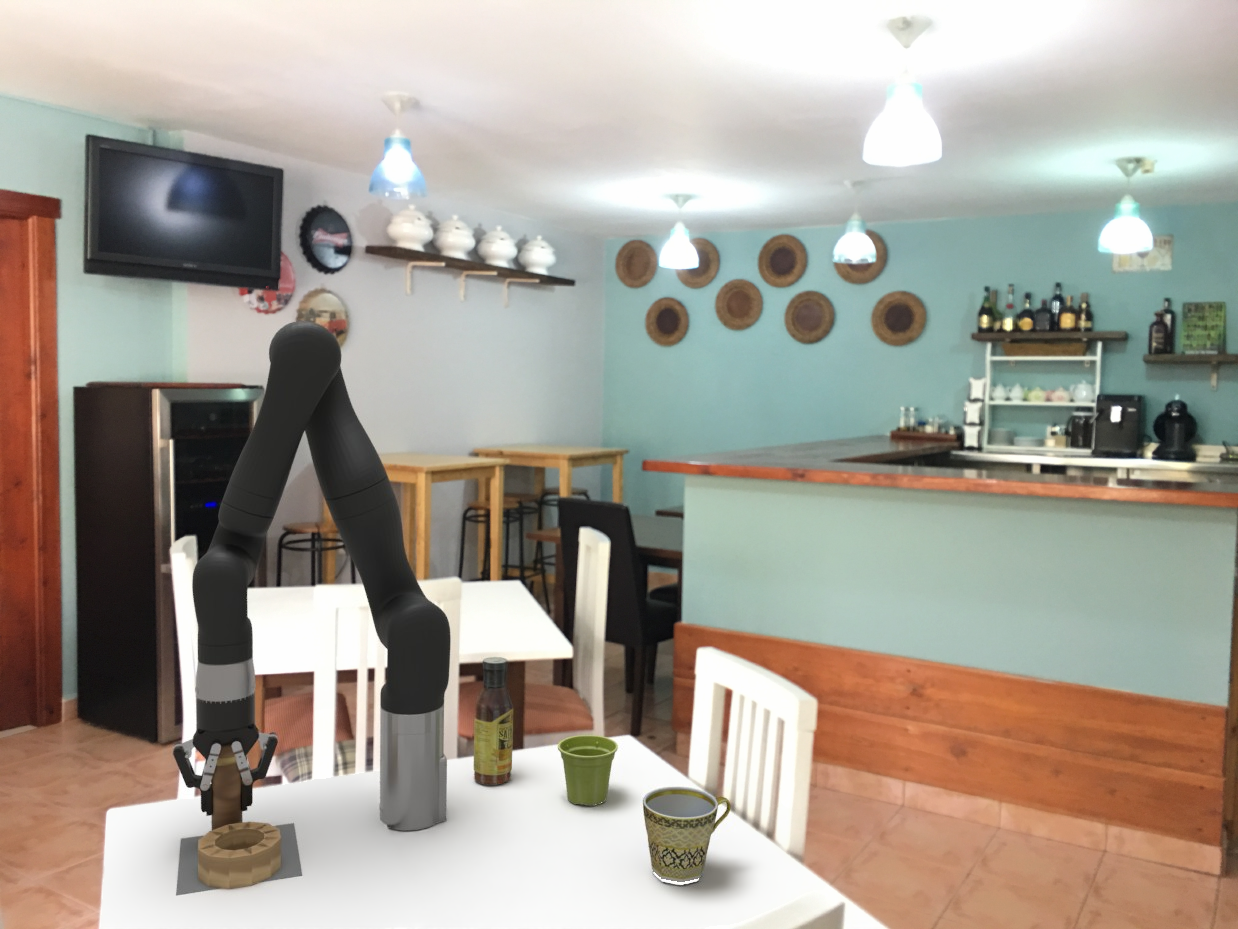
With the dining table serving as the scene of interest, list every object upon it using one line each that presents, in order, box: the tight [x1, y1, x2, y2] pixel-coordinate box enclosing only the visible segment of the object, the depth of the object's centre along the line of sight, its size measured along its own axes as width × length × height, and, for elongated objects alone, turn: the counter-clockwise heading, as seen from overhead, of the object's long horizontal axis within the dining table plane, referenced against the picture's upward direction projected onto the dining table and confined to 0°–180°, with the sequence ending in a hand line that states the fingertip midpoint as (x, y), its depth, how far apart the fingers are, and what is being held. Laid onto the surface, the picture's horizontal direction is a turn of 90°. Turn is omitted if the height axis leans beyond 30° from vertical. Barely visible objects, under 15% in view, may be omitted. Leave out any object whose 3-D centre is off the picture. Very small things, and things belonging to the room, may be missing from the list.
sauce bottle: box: [473, 656, 514, 786], centre depth 161 cm, size 7×6×20 cm
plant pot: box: [557, 734, 619, 806], centre depth 155 cm, size 9×9×9 cm
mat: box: [175, 822, 303, 896], centre depth 133 cm, size 15×16×1 cm
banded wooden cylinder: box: [210, 745, 244, 831], centre depth 137 cm, size 4×4×14 cm
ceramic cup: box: [642, 786, 731, 882], centre depth 133 cm, size 13×10×10 cm
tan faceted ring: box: [198, 821, 281, 890], centre depth 130 cm, size 10×10×4 cm
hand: (226, 810), depth 137 cm, fingers closed on banded wooden cylinder, 4 cm apart
